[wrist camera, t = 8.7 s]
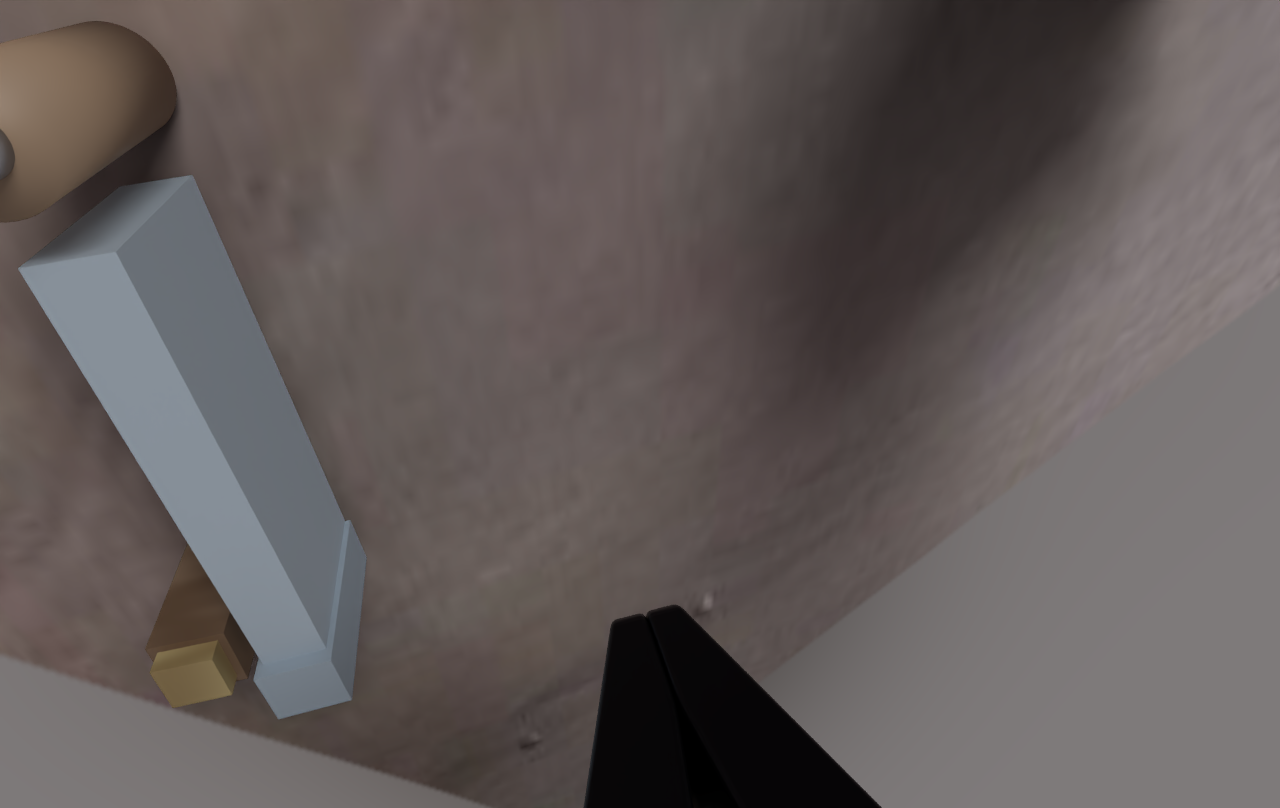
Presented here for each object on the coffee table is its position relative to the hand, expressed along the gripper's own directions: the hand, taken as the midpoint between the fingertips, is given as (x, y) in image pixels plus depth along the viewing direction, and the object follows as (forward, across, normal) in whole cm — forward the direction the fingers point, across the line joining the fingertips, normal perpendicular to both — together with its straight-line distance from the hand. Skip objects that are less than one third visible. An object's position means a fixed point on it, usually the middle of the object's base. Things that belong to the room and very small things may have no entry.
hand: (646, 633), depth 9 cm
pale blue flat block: (+13, +8, +1) cm, 15 cm away
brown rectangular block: (+13, +10, +8) cm, 18 cm away
